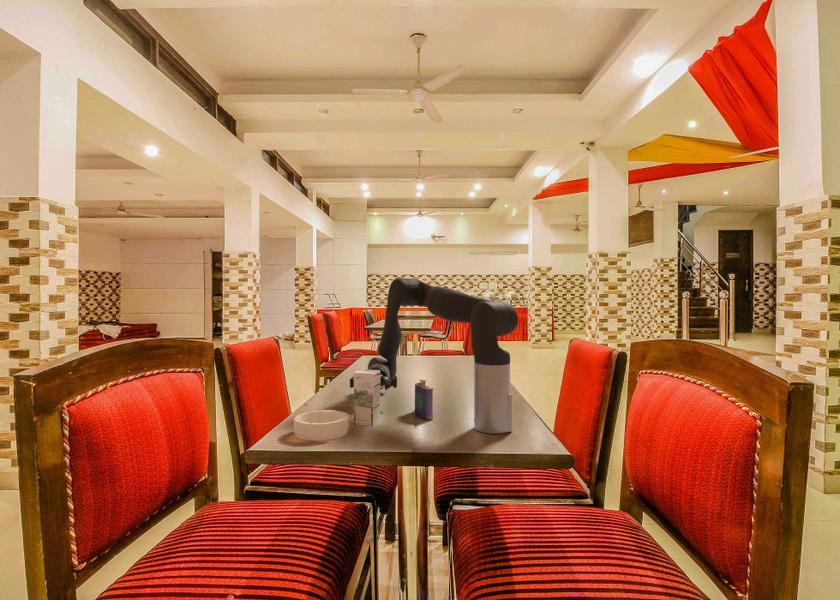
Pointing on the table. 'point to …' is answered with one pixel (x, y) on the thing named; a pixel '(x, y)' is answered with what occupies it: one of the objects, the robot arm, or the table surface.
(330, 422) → the bowl
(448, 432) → the table surface
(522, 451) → the table surface
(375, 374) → the syrup box
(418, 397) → the flask
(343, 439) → the placemat
